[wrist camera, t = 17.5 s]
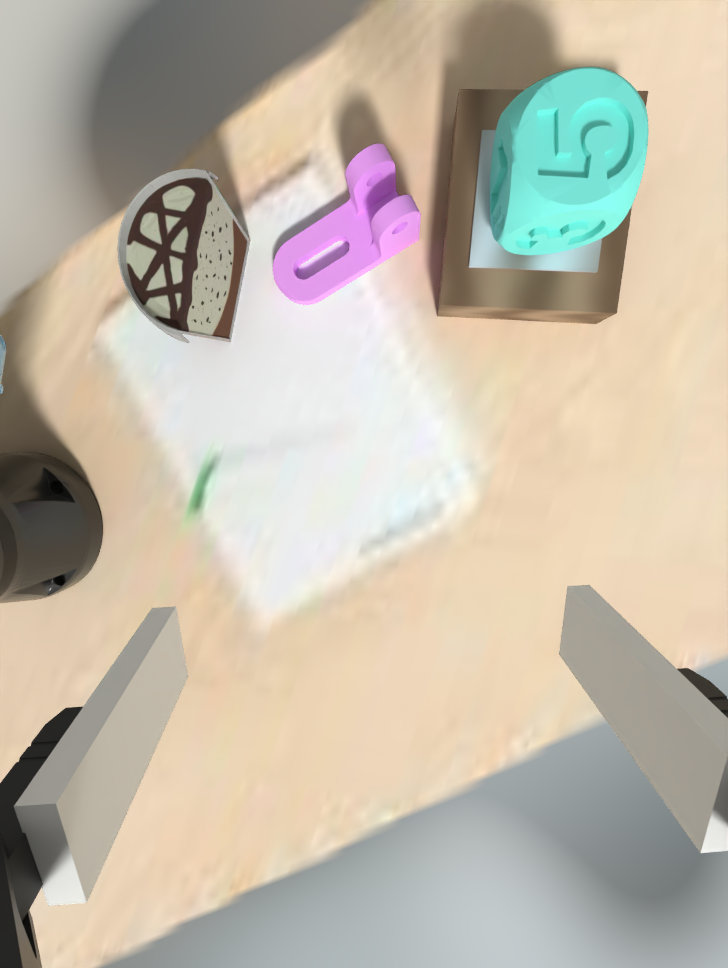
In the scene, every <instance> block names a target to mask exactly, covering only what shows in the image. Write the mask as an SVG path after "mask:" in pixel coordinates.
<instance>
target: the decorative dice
mask: <svg viewBox="0 0 728 968" xmlns="http://www.w3.org/2000/svg"><path fill="white" fill-rule="evenodd" d="M647 145H648V117H647V111H646V107H645V104H644V101H643V100H642V98H641V97H640V95H639V93H638V92H637V91H636V89H635V88H634V87H633V86H632V85H631V84H630V83H629V82H628V81H627V80H625V79H624V78H623V77H621V76H620V75H618V74H616V73H614V72H612V71H610V70H607V69H604V68H599V67H581V68H574V69H570V70H566V71H562V72H559V73H556V74H553V75H551V76H548V77H546V78H544V79H542V80H540V81H538V82H536V83H534V84H533V85H531V86H530V87H528V88H527V89H525V90H524V91H522V92H521V93H520V94H519V95H518V96H517V97H515V98H514V99H513V100H512V102H511V103H510V104H509V105H508V106H507V108H506V109H505V110H504V111H503V112H502V114H501V116H500V118H499V121H498V124H497V128H496V133H495V138H494V144H493V151H492V160H491V172H490V221H491V229H492V234H493V237H494V239H495V240H496V242H498V243H499V244H500V245H501V246H502V247H503V248H504V249H505V250H507V251H508V252H511V253H514V254H519V255H543V254H551V253H557V252H562V251H567V250H571V249H575V248H578V247H581V246H584V245H587V244H590V243H592V242H595V241H597V240H599V239H601V238H603V237H605V236H606V235H608V234H610V233H611V232H612V231H614V230H615V229H616V228H617V227H618V226H619V225H620V223H621V222H622V221H623V220H624V218H625V217H626V215H627V214H628V212H629V210H630V208H631V206H632V204H633V201H634V199H635V196H636V194H637V191H638V188H639V185H640V181H641V178H642V174H643V170H644V165H645V160H646V153H647Z"/></svg>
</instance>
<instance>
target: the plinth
mask: <svg viewBox="0 0 728 968" xmlns="http://www.w3.org/2000/svg"><path fill="white" fill-rule="evenodd" d="M522 91H524V90H476V89H459V95H458V101H457V108H456V114H455V120H454V129H453V140H452V152H451V163H450V174H449V186H448V197H447V209H446V220H445V232H444V243H443V255H442V266H441V278H440V289H439V300H438V312H437V316H446V317H466V318H486V319H507V320H527V321H547V322H567V323H587V324H597V323H599V322H601V321H603V320H604V319H606V318H608V317H610V316H612V315H614V314H616V313H617V307H618V300H619V293H620V286H621V279H622V272H623V265H624V258H625V251H626V244H627V237H628V230H629V222H630V215H631V208H632V206H631V208H630V210H629V212H628V214H627V215H626V217H625V218H624V220H623V221H622V222H621V223H620V225H619V226H618V227H617V228H616V229H615V230H614V231H612V232H611V233H610V234H608V235H606V236H605V237H603V238H601V239H599V240H597V241H595V242H592V243H590V244H587V245H584V246H581V247H578V248H575V249H571V250H567V251H562V252H557V253H551V254H543V255H519V254H514V253H511V252H508V251H507V250H505V249H504V248H503V247H502V246H501V245H500V244H499V243H498V242H496V240H495V239H494V237H493V234H492V229H491V221H490V172H491V160H492V151H493V144H494V138H495V133H496V128H497V124H498V121H499V118H500V116H501V114H502V112H503V111H504V110H505V109H506V108H507V106H508V105H509V104H510V103H511V102H512V100H513V99H514V98H515V97H517V96H518V95H519V94H520V93H521V92H522ZM637 92H638V93H639V95H640V97H641V98H642V100H643V101H644V104H645V107H646V102H647V95H648V91H637Z"/></svg>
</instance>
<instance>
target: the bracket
mask: <svg viewBox="0 0 728 968" xmlns="http://www.w3.org/2000/svg"><path fill="white" fill-rule="evenodd" d="M345 177H346V181H347V185H348V189H349V193H350V199H349V201H348V202H346V203H345V204H343V205H342V206H340V207H339V208H337V209H336V210H334V211H333V212H331V213H329V214H328V215H326V216H325V217H323V218H322V219H320V220H319V221H317V222H316V223H314V224H313V225H311V226H309V227H308V228H306V229H305V230H303V231H302V232H300V233H299V234H297V235H296V236H294V237H292V238H291V239H289V240H288V241H287V242H285V243H284V244H283V245H282V246H281V247H280V249H279V250H278V252H277V254H276V256H275V259H274V263H273V274H274V279H275V282H276V284H277V286H278V287H279V289H280V290H281V291H282V292H283V293H284V295H285V296H286V297H288V298H289V299H290V300H292V301H293V302H295V303H298V304H303V305H310V304H314V303H317V302H319V301H321V300H323V299H324V298H326V297H328V296H329V295H331V294H332V293H334V292H336V291H337V290H339V289H341V288H342V287H344V286H345V285H347V284H349V283H350V282H352V281H353V280H355V279H357V278H358V277H360V276H362V275H363V274H365V273H366V272H368V271H370V270H371V269H373V268H375V267H376V266H378V265H379V264H381V263H383V262H384V261H386V260H387V259H389V258H391V257H392V256H394V255H396V254H397V253H399V252H400V251H402V250H404V249H405V248H407V247H408V246H410V245H412V244H413V243H415V242H417V241H418V240H419V230H420V216H421V214H420V212H419V210H418V208H417V206H416V204H415V202H414V200H413V198H412V196H411V195H402V196H399V195H398V193H397V191H396V174H395V163H394V162H393V160H392V158H391V156H390V154H389V152H388V150H387V148H386V146H385V145H384V144H374V145H371V146H369V147H367V148H365V149H363V150H362V151H361V152H359V153H358V154H357V155H356V156H355V157H354V158H353V159H352V161H351V162H350V163H349V165H348V167H347V169H346V172H345ZM337 241H345V242H347V243H348V244H349V251H348V252H347V254H346V255H344V256H343V257H341V258H340V259H338V260H337V261H335V262H333V263H332V264H330V265H329V266H327V267H325V268H324V269H322V270H321V271H319V272H317V273H316V274H314V275H313V276H311V277H310V278H308V279H305V280H302V279H299V278H297V269H298V267H299V266H300V265H301V264H302V263H304V262H306V261H307V260H309V259H310V258H312V257H313V256H315V255H317V254H318V253H320V252H321V251H323V250H324V249H326V248H328V247H329V246H331V245H332V244H334V243H335V242H337Z"/></svg>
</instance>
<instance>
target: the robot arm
mask: <svg viewBox="0 0 728 968" xmlns="http://www.w3.org/2000/svg"><path fill="white" fill-rule="evenodd" d="M5 356H6V345H5V341H4V339H3V337H2V336H1V334H0V394H2V393H3V386H2V384H1V380H2V374H3V368H4V362H5ZM102 533H103V529H102V519H101V514H100V510H99V507H98V504H97V502H96V500H95V497H94V495H93V494H92V492H91V490H90V489H89V487H88V486H87V484H86V483H85V482H84V480H83V479H82V478H81V477H80V476H79V475H78V474H77V473H76V472H75V471H74V470H73V469H71V468H70V467H69V466H67V465H66V464H64V463H63V462H61V461H59V460H57V459H55V458H53V457H50V456H47V455H43V454H39V453H31V452H23V453H10V454H1V455H0V603H8V602H18V601H28V600H37V599H42V598H46V597H49V596H52V595H54V594H57V593H59V592H61V591H63V590H65V589H67V588H69V587H71V586H73V585H74V584H76V583H78V582H79V581H80V580H81V579H83V578H84V577H85V576H86V575H87V573H88V572H89V571H90V570H91V568H92V567H93V565H94V564H95V562H96V560H97V557H98V555H99V552H100V548H101V543H102ZM559 655H560V656H561V658H562V659H563V660H564V662H565V663H566V665H567V666H568V667H569V669H570V670H571V672H572V673H573V674H574V676H575V677H576V679H577V680H578V681H579V683H580V684H581V686H582V687H583V688H584V690H585V691H586V693H587V694H588V695H589V697H590V698H591V700H592V701H593V703H594V704H595V705H596V707H597V708H598V710H599V711H600V712H601V714H602V715H603V717H604V718H605V719H606V721H607V722H608V724H609V725H610V726H611V728H612V729H613V730H614V732H615V733H616V735H617V736H618V738H619V739H620V740H621V742H622V743H623V745H624V746H625V747H626V749H627V750H628V752H629V753H630V755H631V756H632V757H633V759H634V760H635V761H636V763H637V764H638V766H639V767H640V768H641V770H642V771H643V773H644V774H645V776H646V777H647V778H648V780H649V781H650V782H651V784H652V785H653V787H654V788H655V790H656V791H657V792H658V794H659V795H660V797H661V798H662V799H663V801H664V802H665V804H666V805H667V806H668V808H669V809H670V811H671V812H672V813H673V815H674V816H675V818H676V819H677V821H678V822H679V823H680V825H681V826H682V827H683V829H684V830H685V832H686V833H687V834H688V836H689V837H690V839H691V840H692V842H693V843H694V844H695V846H696V847H697V849H698V850H699V851H700V853H706V852H718V851H728V699H727V696H725V695H724V694H723V693H722V692H721V691H720V690H719V689H718V688H717V687H715V685H713V684H712V683H711V682H710V681H709V680H707V679H705V678H704V677H702V676H700V675H699V674H697V673H695V672H694V671H692V670H690V669H688V668H683V669H676V668H675V667H674V666H673V665H672V664H671V663H670V662H669V661H668V660H667V659H666V658H665V657H664V656H663V655H662V654H661V653H660V652H658V651H657V650H656V649H655V648H654V647H653V646H652V645H651V644H650V643H649V642H648V641H647V640H646V639H645V638H644V637H643V636H642V635H641V634H640V633H639V632H638V631H637V630H636V629H635V628H634V627H632V626H631V625H630V624H629V623H628V622H627V621H626V620H625V619H624V618H623V617H622V616H621V615H620V614H619V613H618V612H617V611H616V610H615V609H614V608H613V607H612V606H611V605H610V604H609V603H608V602H606V601H605V600H604V599H603V598H602V597H601V596H600V595H599V594H598V593H597V592H596V591H595V590H594V589H593V588H592V587H591V586H590V585H582V586H568V587H567V595H566V603H565V611H564V619H563V627H562V635H561V643H560V651H559ZM187 678H188V673H187V667H186V661H185V655H184V650H183V644H182V638H181V632H180V626H179V620H178V615H177V609H176V607H162V608H152V609H151V611H150V612H149V613H148V615H147V616H146V618H145V619H144V621H143V622H142V623H141V625H140V626H139V628H138V629H137V631H136V632H135V634H134V635H133V636H132V638H131V639H130V641H129V642H128V644H127V645H126V646H125V648H124V649H123V651H122V652H121V654H120V655H119V656H118V658H117V659H116V661H115V662H114V664H113V665H112V666H111V668H110V669H109V671H108V672H107V674H106V675H105V676H104V678H103V679H102V681H101V682H100V684H99V685H98V686H97V688H96V689H95V691H94V692H93V694H92V695H91V697H90V698H89V699H88V701H87V702H86V704H85V705H84V707H72V708H65V709H64V710H63V711H61V712H60V713H59V714H58V715H56V716H55V717H54V718H53V719H52V720H50V721H49V722H48V723H47V724H45V726H44V727H43V728H42V730H41V731H40V732H39V734H38V735H37V736H36V737H35V739H34V740H33V741H32V743H31V746H30V747H28V748H27V749H26V751H25V752H24V753H23V754H22V756H21V757H20V760H19V762H16V764H15V765H14V766H13V768H12V769H11V770H10V771H9V773H8V774H7V775H6V777H5V778H4V779H3V781H2V782H1V783H0V968H42V965H41V960H40V955H39V950H38V945H37V940H36V935H35V930H34V925H33V920H32V917H31V914H30V911H29V909H30V907H31V905H32V903H33V902H34V900H35V898H36V896H37V894H38V892H39V891H40V889H41V887H42V889H43V892H44V895H45V898H46V901H47V904H48V906H53V905H65V904H77V903H87V901H88V898H89V896H90V894H91V892H92V890H93V887H94V885H95V883H96V881H97V878H98V876H99V874H100V872H101V869H102V867H103V865H104V863H105V861H106V858H107V856H108V854H109V852H110V849H111V847H112V845H113V843H114V840H115V838H116V836H117V834H118V831H119V829H120V827H121V825H122V823H123V820H124V818H125V816H126V814H127V811H128V809H129V807H130V805H131V802H132V800H133V798H134V796H135V794H136V791H137V789H138V787H139V785H140V782H141V780H142V778H143V776H144V773H145V771H146V769H147V767H148V765H149V762H150V760H151V758H152V756H153V753H154V751H155V749H156V747H157V744H158V742H159V740H160V738H161V736H162V733H163V731H164V729H165V727H166V724H167V722H168V720H169V718H170V715H171V713H172V711H173V709H174V707H175V704H176V702H177V700H178V698H179V695H180V693H181V691H182V689H183V686H184V684H185V682H186V680H187Z"/></svg>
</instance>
